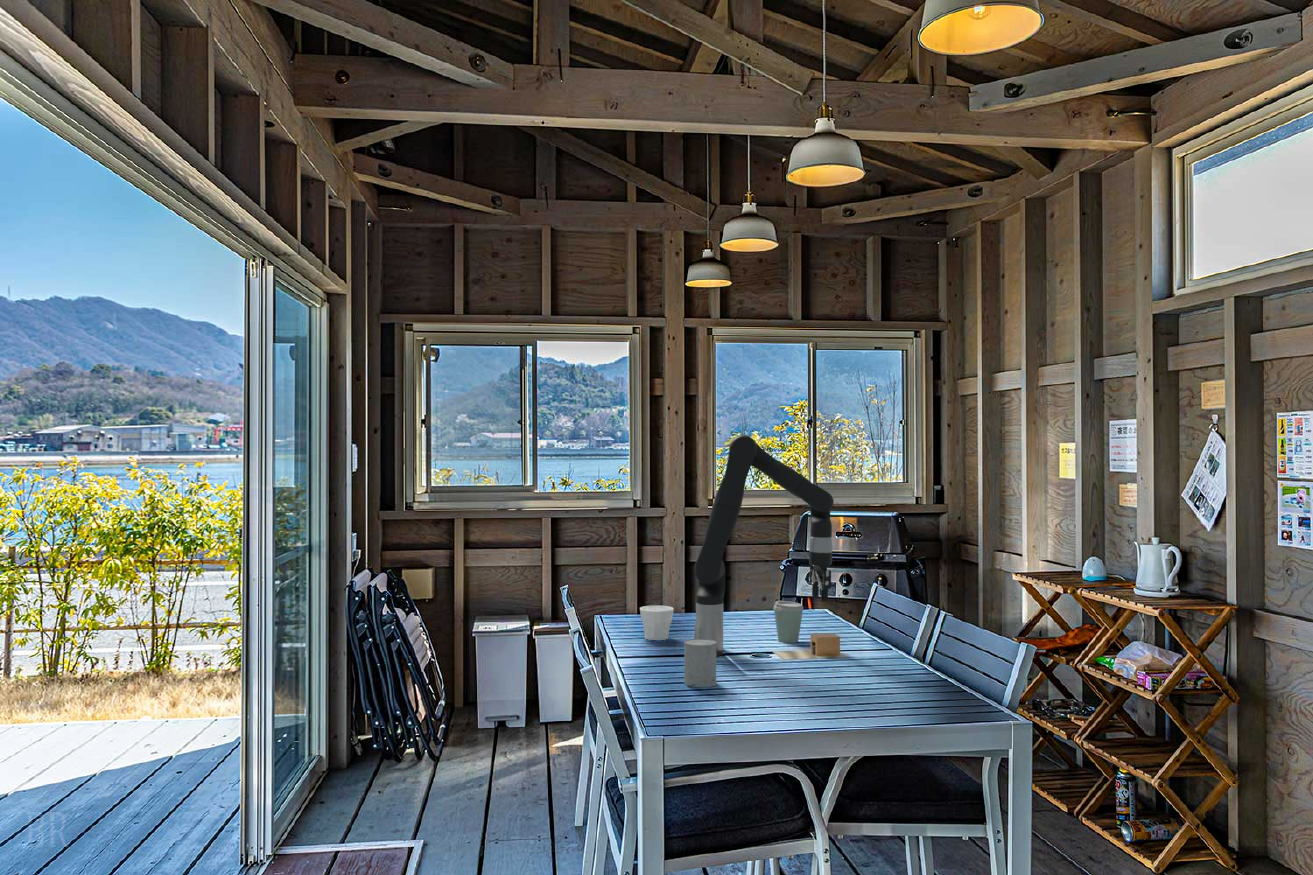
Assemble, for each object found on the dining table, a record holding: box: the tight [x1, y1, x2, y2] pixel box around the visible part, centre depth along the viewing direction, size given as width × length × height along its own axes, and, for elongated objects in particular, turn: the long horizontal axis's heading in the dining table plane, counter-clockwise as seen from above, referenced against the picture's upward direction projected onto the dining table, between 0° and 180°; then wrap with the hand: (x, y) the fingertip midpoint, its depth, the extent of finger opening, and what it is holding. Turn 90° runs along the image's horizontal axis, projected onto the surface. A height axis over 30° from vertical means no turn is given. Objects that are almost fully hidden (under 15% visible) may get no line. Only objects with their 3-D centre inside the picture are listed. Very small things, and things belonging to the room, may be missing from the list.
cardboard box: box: [810, 632, 841, 656], centre depth 312 cm, size 8×6×6 cm
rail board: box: [771, 646, 848, 660], centre depth 311 cm, size 22×12×4 cm, turn 100°
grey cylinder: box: [683, 638, 717, 688], centre depth 278 cm, size 10×10×12 cm
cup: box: [639, 605, 675, 641], centre depth 343 cm, size 12×12×11 cm
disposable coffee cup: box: [773, 600, 804, 644], centre depth 333 cm, size 11×11×15 cm
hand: (819, 599), depth 314 cm, fingers open, 8 cm apart
